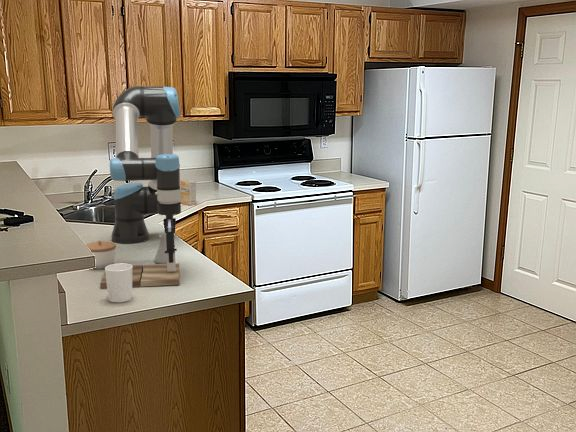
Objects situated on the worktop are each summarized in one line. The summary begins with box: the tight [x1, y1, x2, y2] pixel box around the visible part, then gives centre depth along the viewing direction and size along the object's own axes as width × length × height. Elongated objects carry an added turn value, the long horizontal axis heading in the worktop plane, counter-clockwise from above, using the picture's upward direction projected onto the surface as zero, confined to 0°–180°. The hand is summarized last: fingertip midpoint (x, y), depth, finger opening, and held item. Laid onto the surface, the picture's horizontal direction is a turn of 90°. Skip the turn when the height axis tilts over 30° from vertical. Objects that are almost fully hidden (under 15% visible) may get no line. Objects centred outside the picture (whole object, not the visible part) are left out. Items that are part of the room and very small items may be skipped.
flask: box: [153, 233, 167, 264], centre depth 213 cm, size 7×7×10 cm
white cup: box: [104, 262, 133, 303], centre depth 175 cm, size 8×8×10 cm
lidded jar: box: [85, 240, 117, 270], centre depth 207 cm, size 11×11×9 cm
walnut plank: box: [99, 264, 144, 290], centre depth 194 cm, size 18×12×2 cm, turn 10°
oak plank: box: [140, 262, 180, 287], centre depth 196 cm, size 18×12×2 cm, turn 10°
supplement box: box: [180, 179, 197, 207], centre depth 321 cm, size 8×5×13 cm, turn 50°
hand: (171, 270), depth 196 cm, fingers closed
